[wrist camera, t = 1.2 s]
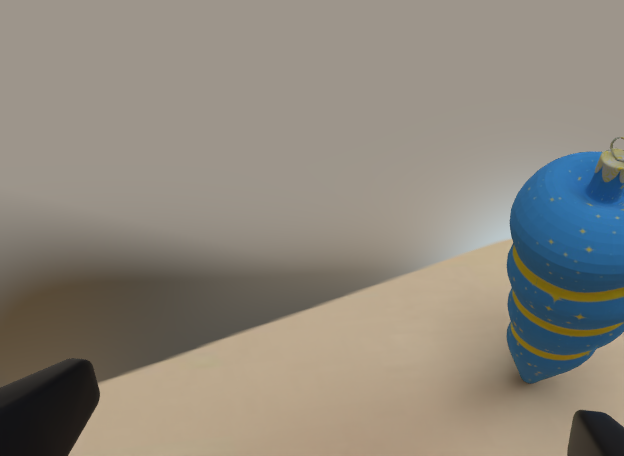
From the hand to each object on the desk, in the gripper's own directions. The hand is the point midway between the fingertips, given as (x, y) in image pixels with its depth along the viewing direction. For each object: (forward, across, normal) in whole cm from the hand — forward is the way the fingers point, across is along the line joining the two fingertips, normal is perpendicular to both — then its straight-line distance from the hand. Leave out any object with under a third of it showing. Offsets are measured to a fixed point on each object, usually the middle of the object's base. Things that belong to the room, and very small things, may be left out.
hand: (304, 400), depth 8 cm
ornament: (+15, -8, +10) cm, 19 cm away
